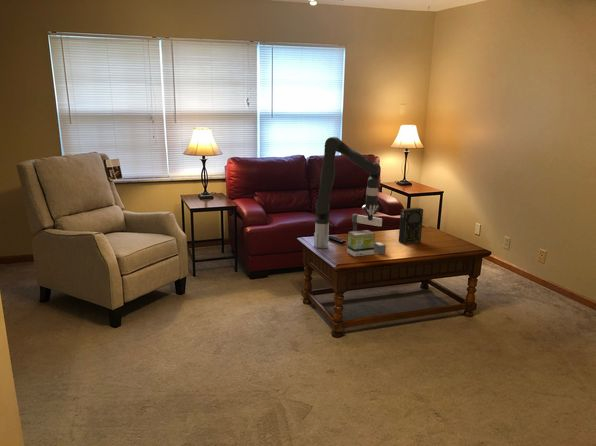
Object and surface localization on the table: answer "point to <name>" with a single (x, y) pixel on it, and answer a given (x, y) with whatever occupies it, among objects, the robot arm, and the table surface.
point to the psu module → (379, 248)
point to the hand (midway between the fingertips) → (370, 220)
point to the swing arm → (366, 220)
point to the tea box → (361, 243)
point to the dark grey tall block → (410, 225)
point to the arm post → (354, 226)
